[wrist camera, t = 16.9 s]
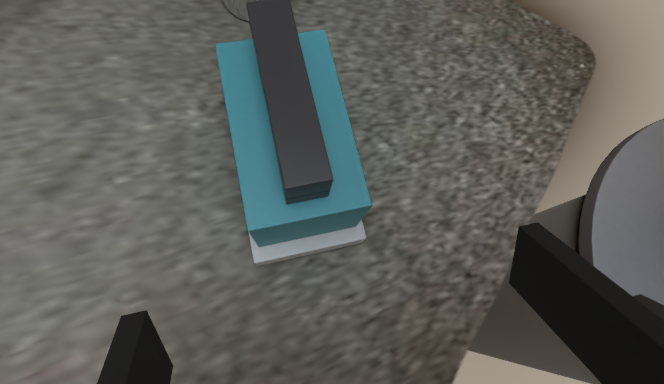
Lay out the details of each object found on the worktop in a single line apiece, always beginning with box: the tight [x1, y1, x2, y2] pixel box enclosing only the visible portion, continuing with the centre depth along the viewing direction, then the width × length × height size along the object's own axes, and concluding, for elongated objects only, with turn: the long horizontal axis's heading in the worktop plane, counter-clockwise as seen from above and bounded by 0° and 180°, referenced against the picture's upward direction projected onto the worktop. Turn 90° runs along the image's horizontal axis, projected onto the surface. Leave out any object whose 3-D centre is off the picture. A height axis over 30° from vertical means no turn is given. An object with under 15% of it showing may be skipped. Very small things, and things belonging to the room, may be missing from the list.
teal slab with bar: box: [215, 0, 372, 266], centre depth 25 cm, size 18×8×11 cm, turn 13°
